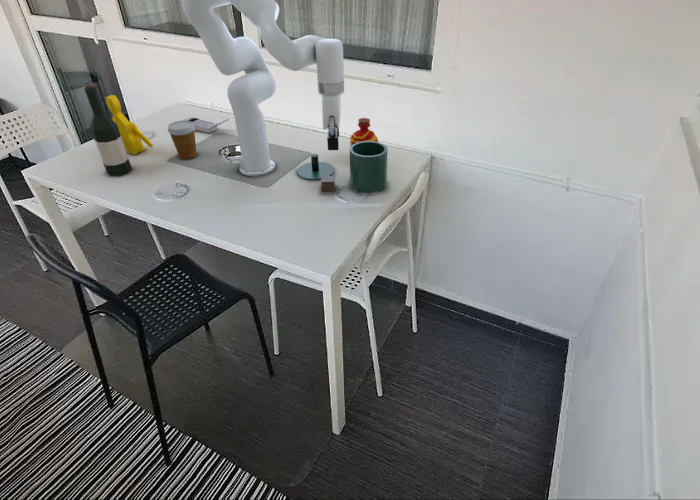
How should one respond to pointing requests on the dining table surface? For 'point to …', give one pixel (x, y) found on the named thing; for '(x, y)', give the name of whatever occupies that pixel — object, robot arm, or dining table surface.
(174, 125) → the disposable coffee cup
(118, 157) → the wine bottle
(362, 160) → the green tube
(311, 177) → the green disc with handle
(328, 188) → the block
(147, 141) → the figure statuette
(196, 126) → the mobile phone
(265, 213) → the dining table surface
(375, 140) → the potion bottle
